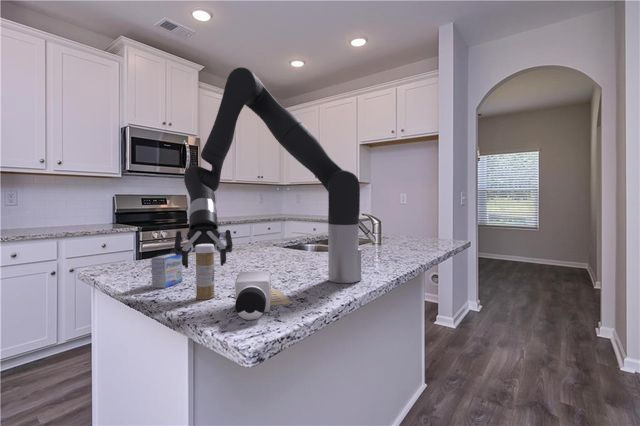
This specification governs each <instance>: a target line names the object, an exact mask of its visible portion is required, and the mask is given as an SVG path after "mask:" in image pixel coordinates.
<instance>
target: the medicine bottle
mask: <svg viewBox="0 0 640 426" xmlns="http://www.w3.org/2000/svg"><path fill="white" fill-rule="evenodd" d="M234 287H235V288H234V289H235V291H234V292H235V293H234V294H235V295H236V298H235V304H234V307H235V313H236V314H237V315H239V317H240V318H242V319H244V320H247V321H252V320H257V319H258V318H260V317H261V316H262V315H263V314H264V313H269V312H270V308H271V306H270V300H271V290H272V288H271V271H269V270H265V271H263V270H262V271H259V270H257V271H239V272H238V275H237V277H236V279H235V283H234Z"/></svg>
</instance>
